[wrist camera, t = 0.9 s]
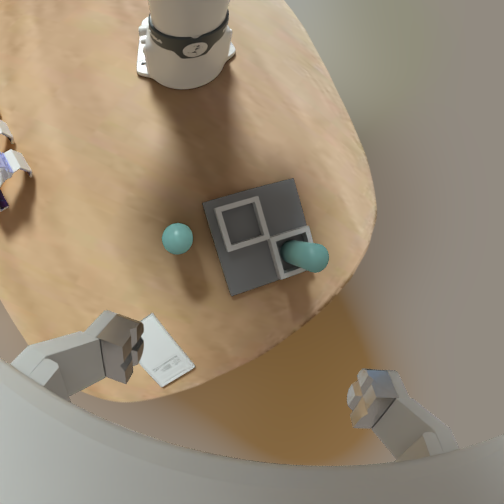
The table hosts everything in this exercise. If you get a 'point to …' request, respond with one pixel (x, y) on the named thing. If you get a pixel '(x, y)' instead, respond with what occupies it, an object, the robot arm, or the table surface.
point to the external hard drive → (162, 353)
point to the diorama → (10, 163)
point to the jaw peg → (177, 238)
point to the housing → (262, 236)
